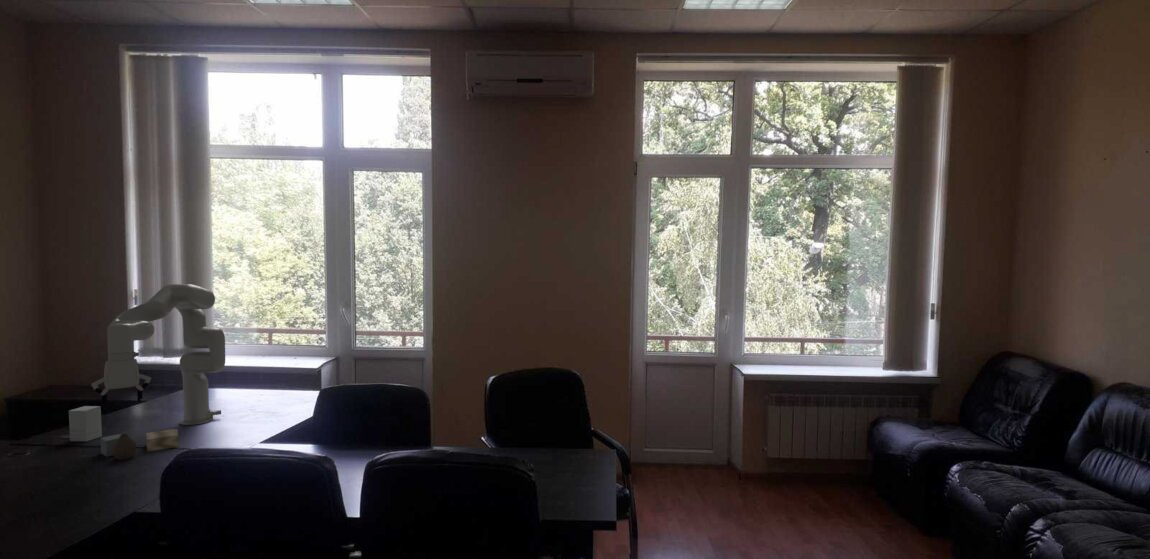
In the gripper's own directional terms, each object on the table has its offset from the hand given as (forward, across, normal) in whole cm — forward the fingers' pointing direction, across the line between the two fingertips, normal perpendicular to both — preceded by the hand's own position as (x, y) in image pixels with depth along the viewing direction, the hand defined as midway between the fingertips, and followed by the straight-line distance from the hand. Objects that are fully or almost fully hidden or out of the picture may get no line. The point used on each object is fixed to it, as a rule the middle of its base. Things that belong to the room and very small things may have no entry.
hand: (122, 403), depth 212 cm
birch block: (+21, -12, -8) cm, 25 cm away
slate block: (+21, +3, -10) cm, 23 cm away
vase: (+21, 0, 0) cm, 21 cm away
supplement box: (+21, +11, -38) cm, 44 cm away
